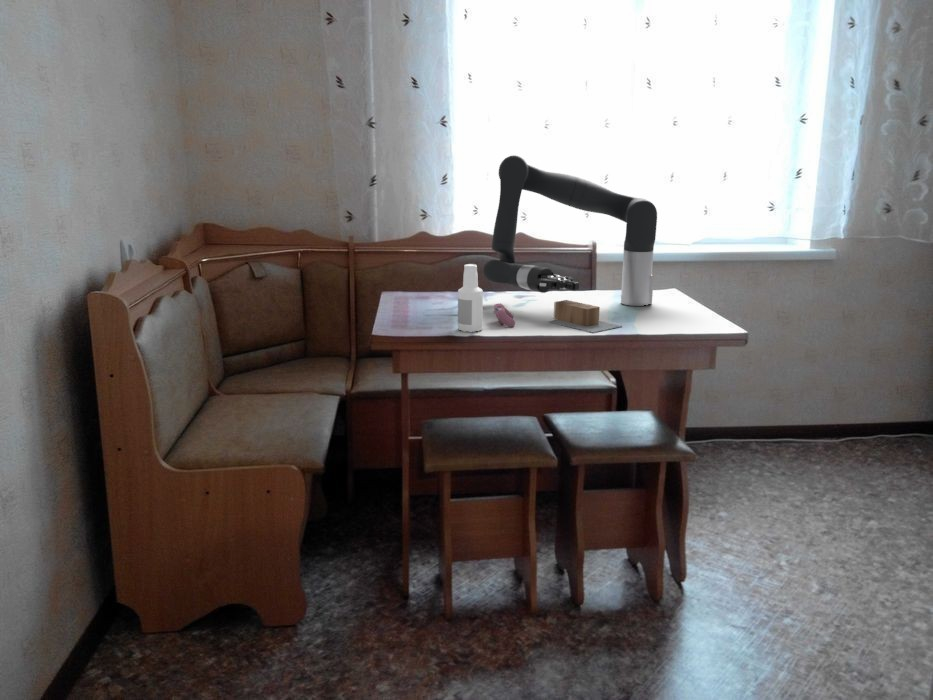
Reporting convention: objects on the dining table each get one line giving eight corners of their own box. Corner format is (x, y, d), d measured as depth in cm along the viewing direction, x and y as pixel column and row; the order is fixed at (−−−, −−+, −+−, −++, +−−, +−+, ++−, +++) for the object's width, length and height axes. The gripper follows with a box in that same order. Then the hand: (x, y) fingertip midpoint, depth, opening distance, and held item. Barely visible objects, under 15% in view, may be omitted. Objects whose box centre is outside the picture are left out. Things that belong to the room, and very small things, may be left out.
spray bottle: (460, 326, 223) (460, 262, 218) (484, 327, 222) (485, 263, 217) (455, 331, 216) (455, 266, 212) (480, 333, 215) (480, 267, 210)
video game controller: (500, 325, 232) (490, 304, 230) (514, 318, 231) (504, 297, 230) (501, 333, 222) (490, 311, 221) (516, 326, 222) (505, 304, 220)
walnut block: (566, 299, 234) (599, 306, 224) (565, 316, 235) (598, 324, 225) (554, 301, 231) (587, 309, 221) (553, 318, 232) (586, 326, 222)
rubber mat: (548, 322, 229) (548, 321, 229) (577, 316, 236) (577, 315, 236) (593, 333, 216) (593, 332, 216) (621, 327, 223) (622, 325, 223)
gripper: (519, 268, 234) (561, 275, 221) (551, 264, 242) (593, 271, 229) (518, 293, 236) (560, 302, 223) (550, 288, 244) (592, 296, 231)
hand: (577, 286), depth 226 cm, fingers closed
